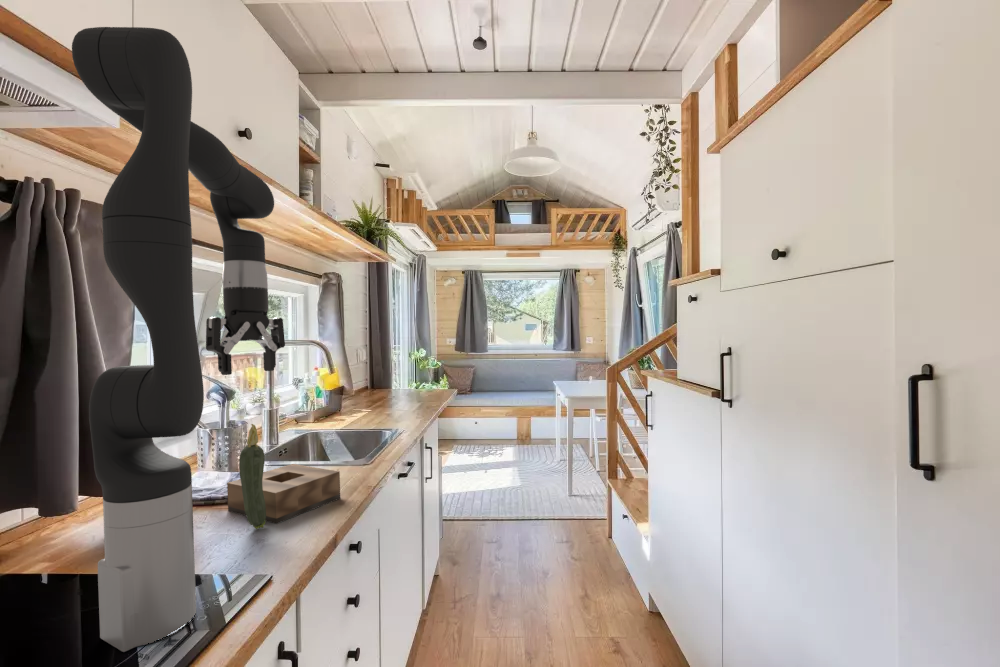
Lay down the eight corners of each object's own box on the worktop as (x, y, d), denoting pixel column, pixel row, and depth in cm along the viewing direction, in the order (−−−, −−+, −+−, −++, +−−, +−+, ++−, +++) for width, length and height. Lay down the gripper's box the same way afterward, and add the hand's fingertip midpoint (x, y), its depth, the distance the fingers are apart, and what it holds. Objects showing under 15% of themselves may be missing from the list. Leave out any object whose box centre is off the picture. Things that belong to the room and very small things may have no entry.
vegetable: (259, 535, 90) (255, 426, 90) (236, 535, 90) (232, 427, 90) (271, 525, 95) (267, 422, 95) (249, 526, 95) (245, 423, 95)
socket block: (276, 523, 96) (275, 493, 96) (228, 511, 104) (227, 482, 103) (340, 498, 109) (339, 471, 109) (293, 488, 117) (292, 463, 117)
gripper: (219, 282, 84) (223, 376, 84) (291, 287, 97) (294, 369, 97) (195, 286, 88) (198, 376, 88) (267, 290, 100) (270, 369, 100)
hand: (248, 372), depth 92 cm, fingers open, 8 cm apart
